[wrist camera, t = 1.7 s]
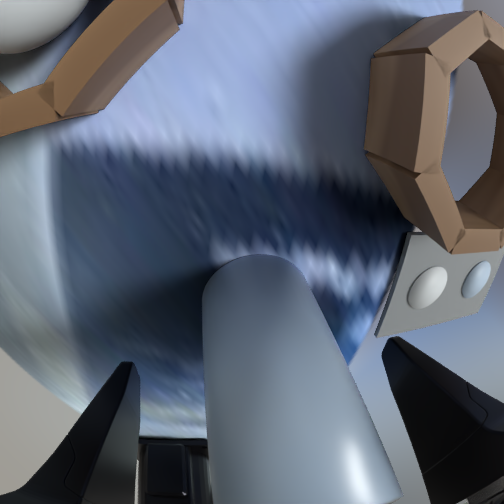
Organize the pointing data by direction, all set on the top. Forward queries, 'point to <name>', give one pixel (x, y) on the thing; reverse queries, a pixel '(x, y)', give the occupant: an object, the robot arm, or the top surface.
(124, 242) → the top surface
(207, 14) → the top surface
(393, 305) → the card
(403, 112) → the ring
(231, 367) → the grey tube
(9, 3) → the white egg
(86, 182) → the top surface
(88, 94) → the ring
